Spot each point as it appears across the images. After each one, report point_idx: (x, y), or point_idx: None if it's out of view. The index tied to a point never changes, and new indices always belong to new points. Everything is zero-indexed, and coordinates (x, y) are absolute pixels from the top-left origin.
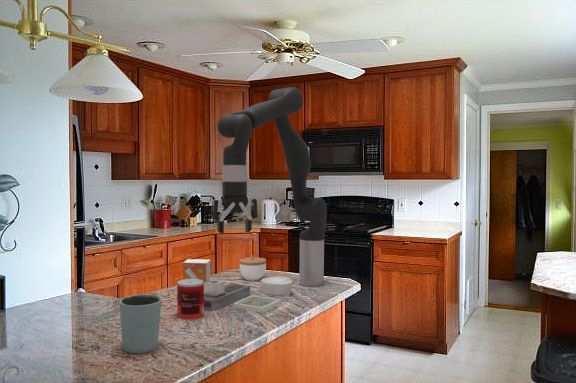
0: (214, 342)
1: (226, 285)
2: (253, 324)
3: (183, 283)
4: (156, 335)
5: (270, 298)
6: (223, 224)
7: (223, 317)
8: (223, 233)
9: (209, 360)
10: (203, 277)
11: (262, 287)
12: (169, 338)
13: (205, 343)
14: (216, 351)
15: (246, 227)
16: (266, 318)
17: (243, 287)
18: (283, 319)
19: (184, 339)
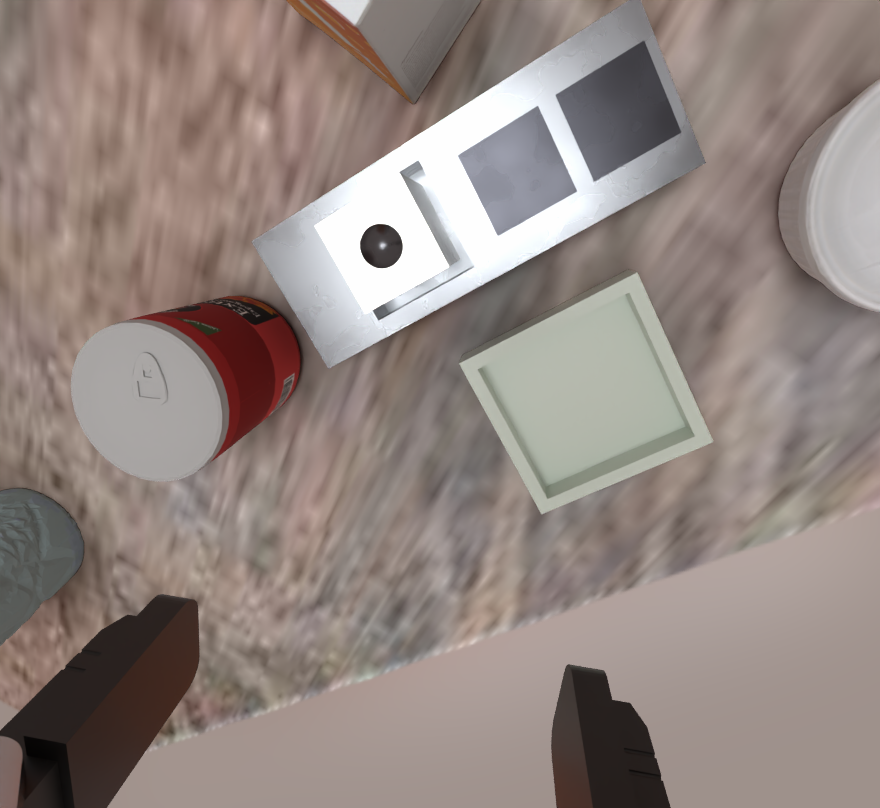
0: (249, 628)
1: (573, 49)
2: (444, 560)
3: (110, 391)
4: (44, 600)
5: (682, 391)
6: (106, 800)
7: (379, 421)
8: (193, 673)
9: (196, 721)
10: (366, 51)
11: (804, 159)
12: (126, 521)
13: (221, 620)
14: (231, 685)
15: (569, 753)
16: (531, 530)
17: (642, 176)
18: (582, 577)
19: (169, 555)
